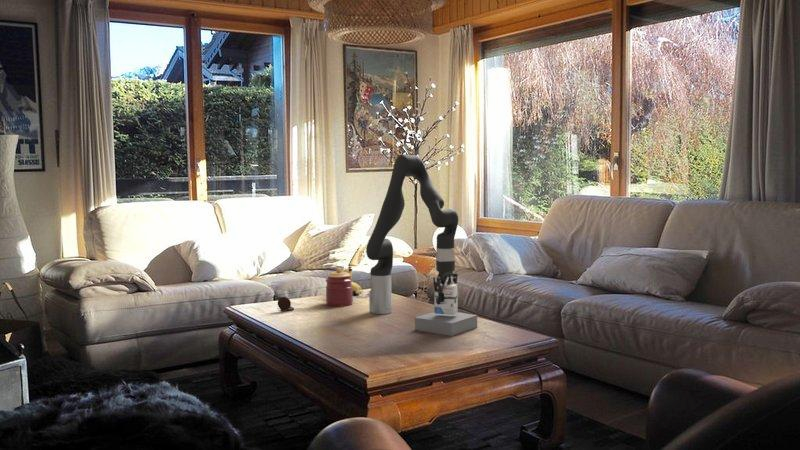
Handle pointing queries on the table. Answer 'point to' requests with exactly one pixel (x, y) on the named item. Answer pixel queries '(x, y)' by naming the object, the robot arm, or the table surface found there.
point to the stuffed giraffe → (355, 285)
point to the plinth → (446, 323)
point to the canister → (339, 288)
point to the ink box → (447, 300)
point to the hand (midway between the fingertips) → (445, 300)
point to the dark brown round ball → (285, 304)
